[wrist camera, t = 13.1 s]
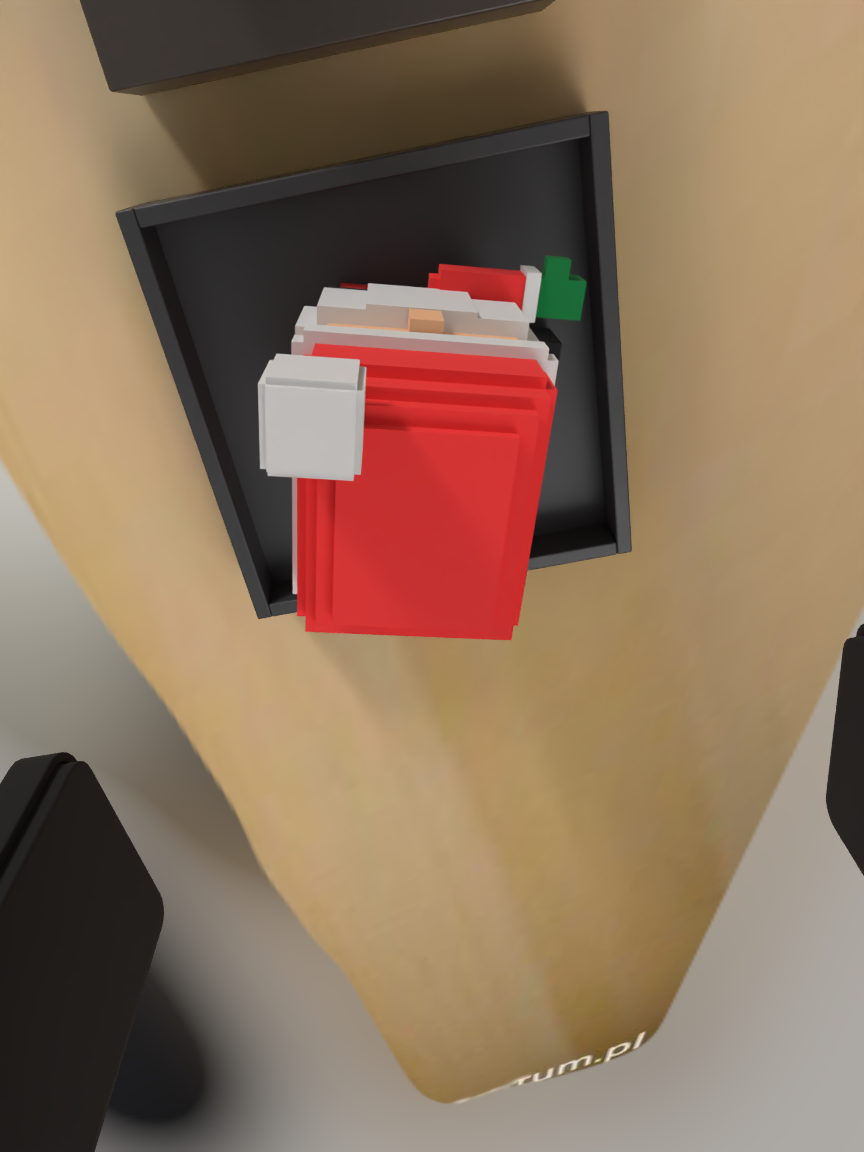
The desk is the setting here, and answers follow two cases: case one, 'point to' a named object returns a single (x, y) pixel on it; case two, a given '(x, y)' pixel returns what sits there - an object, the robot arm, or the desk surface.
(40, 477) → the desk surface
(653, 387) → the desk surface
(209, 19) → the console
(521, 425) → the figurine
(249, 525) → the tray
